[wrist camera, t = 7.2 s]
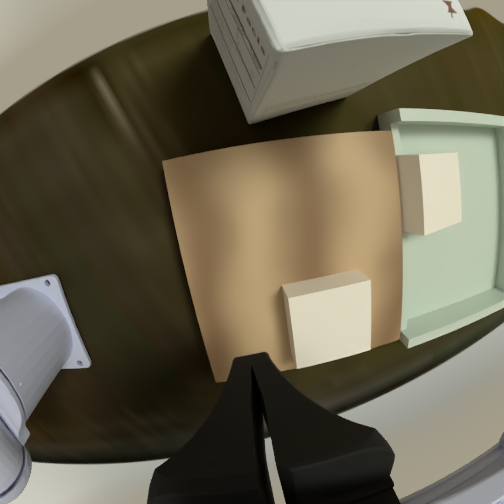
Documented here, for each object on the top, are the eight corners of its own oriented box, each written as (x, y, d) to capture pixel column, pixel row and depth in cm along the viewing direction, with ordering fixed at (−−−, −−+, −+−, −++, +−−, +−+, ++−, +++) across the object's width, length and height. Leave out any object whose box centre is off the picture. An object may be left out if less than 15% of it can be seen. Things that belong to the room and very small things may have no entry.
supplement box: (309, 9, 16) (384, -104, 4) (349, 99, 18) (482, 40, 6) (206, 31, 16) (192, -105, 4) (244, 128, 18) (279, 56, 6)
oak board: (216, 366, 22) (215, 382, 20) (168, 161, 18) (162, 161, 16) (388, 327, 23) (400, 339, 21) (377, 133, 19) (391, 130, 17)
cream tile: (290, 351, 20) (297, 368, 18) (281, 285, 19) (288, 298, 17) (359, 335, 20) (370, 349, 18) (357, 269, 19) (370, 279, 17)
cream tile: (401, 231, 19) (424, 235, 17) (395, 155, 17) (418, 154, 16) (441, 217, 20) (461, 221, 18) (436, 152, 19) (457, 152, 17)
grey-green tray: (390, 329, 23) (407, 348, 20) (377, 114, 18) (398, 108, 15) (496, 290, 23) (515, 301, 20) (495, 120, 19) (518, 118, 16)
